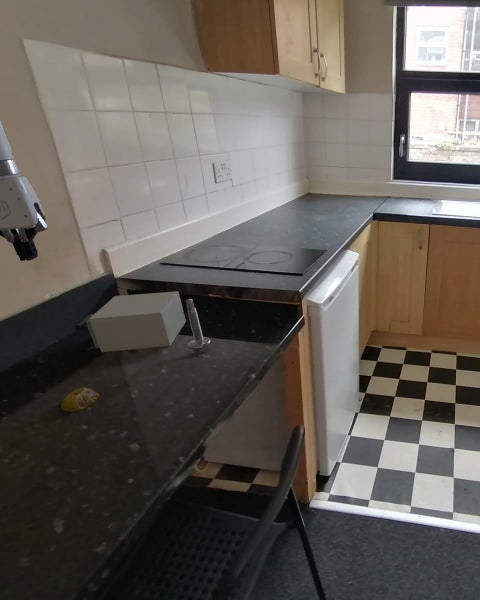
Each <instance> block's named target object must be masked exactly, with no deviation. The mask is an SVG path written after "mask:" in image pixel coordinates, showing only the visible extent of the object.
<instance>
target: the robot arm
mask: <svg viewBox="0 0 480 600" xmlns="http://www.w3.org/2000/svg"><path fill="white" fill-rule="evenodd" d="M46 219H47V218H46V215H45V212H44V209H43V206H42V204H41V201H40V200H39V197H38V195H37V193H36V191H35V190H34V188H33V187H32V185H31V183H30V181H29V180H28V179H27V177H26V176H25V175H22V174H21V171H20V169H19V165H18V163H17V159H16V158H15V155H14V152H13V149H12V147H11V145H10V143H9V140H8V138H7V135H6V132H5V129H4V125H2V121H1V120H0V237H2V238H4V239H5V240H6V241H7V242H8V243H9V244H12V246H13V249H14V251H15V254H16V255H17V257H18V259H19V261H20V262H28V261H29V262H30V261H32V260H34V259H36V258H38V257H39V254H38V253H39V252H38V250H37V247H36V244H35V241H34V239H35V238H36V235H37V234H38V233H41V232H44V231H46V230H48V229H49V226H48V224H47V223H46Z"/></svg>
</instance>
